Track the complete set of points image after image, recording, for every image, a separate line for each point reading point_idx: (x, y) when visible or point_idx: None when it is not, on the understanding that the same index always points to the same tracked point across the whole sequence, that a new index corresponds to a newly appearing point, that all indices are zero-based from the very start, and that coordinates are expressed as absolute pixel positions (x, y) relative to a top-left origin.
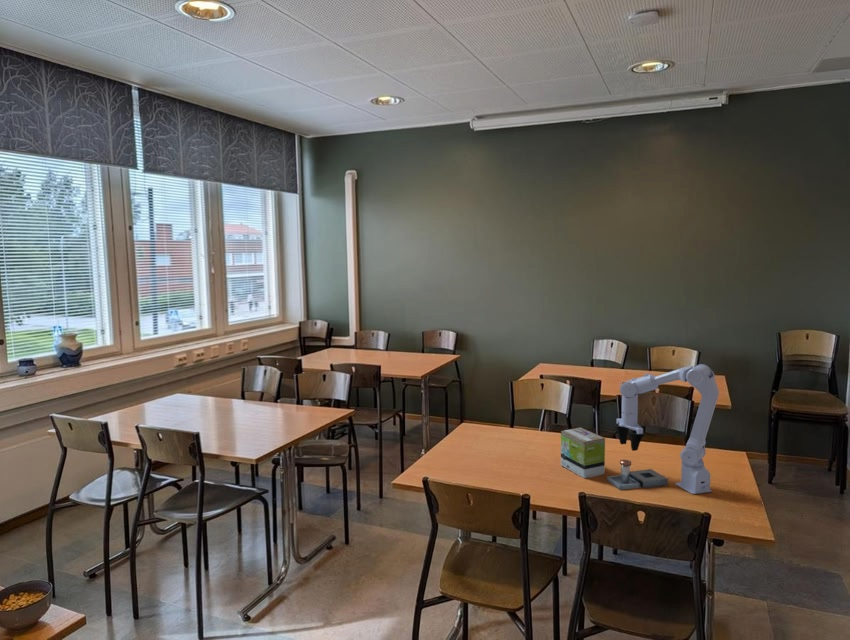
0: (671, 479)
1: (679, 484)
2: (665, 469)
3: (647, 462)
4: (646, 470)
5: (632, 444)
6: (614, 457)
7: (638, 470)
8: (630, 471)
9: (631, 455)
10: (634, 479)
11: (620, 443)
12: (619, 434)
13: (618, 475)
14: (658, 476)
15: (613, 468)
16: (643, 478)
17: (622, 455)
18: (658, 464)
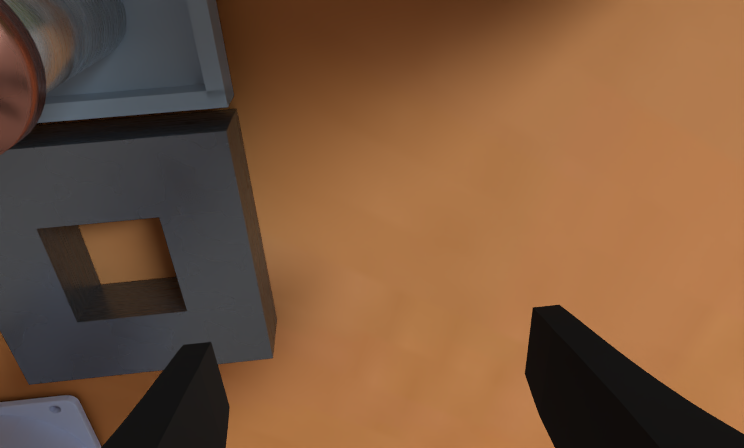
0: None
1: (39, 412)
2: (370, 438)
3: (525, 395)
4: (241, 313)
5: (113, 435)
6: (729, 230)
7: (250, 251)
8: (229, 166)
9: (691, 357)
10: (95, 131)
11: (559, 309)
12: (646, 434)
13: (204, 4)
14: (82, 342)
15: (510, 99)
16: (15, 202)
17: (727, 303)
18: (466, 436)
